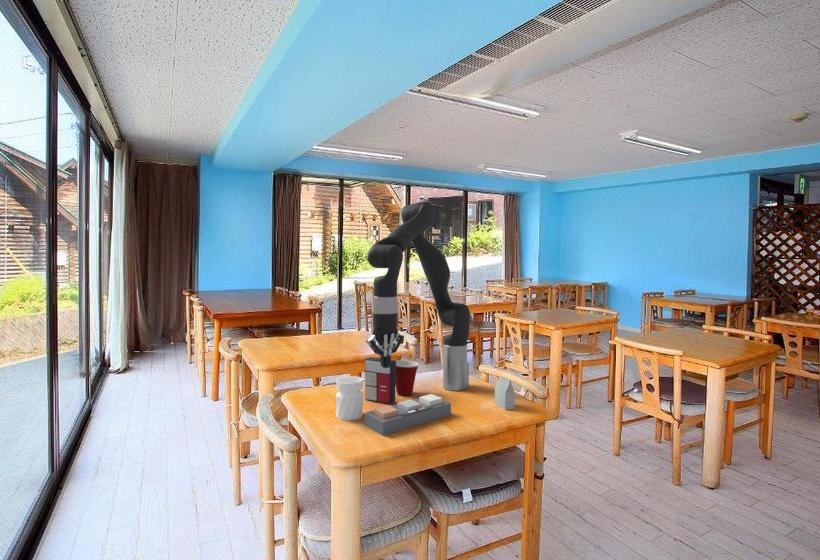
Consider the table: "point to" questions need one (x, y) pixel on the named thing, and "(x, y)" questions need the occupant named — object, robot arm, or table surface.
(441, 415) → the keypad housing
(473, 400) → the table surface
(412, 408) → the grey key
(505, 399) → the pale grey block
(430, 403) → the cream key
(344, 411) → the vase
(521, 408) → the table surface
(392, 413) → the terracotta key
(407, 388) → the plastic cup
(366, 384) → the red and grey box
